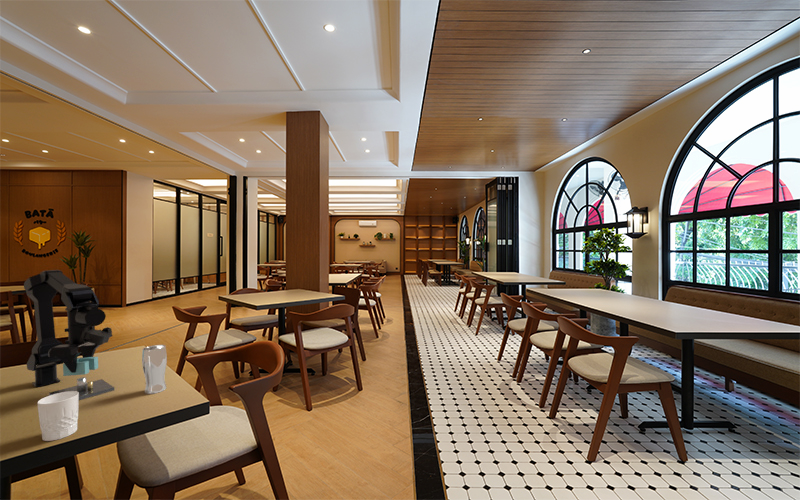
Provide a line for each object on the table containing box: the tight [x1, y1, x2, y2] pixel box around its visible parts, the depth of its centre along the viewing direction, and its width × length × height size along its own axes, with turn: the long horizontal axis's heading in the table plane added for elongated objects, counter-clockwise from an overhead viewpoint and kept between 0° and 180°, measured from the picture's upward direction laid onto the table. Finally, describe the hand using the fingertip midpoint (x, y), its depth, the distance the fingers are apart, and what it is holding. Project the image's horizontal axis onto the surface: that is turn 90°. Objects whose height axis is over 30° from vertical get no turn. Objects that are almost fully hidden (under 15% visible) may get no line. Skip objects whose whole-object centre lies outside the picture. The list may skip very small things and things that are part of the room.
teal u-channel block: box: [62, 356, 99, 377], centre depth 120 cm, size 6×6×4 cm
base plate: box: [48, 376, 115, 401], centre depth 120 cm, size 14×14×5 cm
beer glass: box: [141, 344, 168, 395], centre depth 120 cm, size 7×7×15 cm
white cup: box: [36, 391, 80, 442], centre depth 93 cm, size 8×8×10 cm
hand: (81, 368), depth 120 cm, fingers closed on teal u-channel block, 6 cm apart
